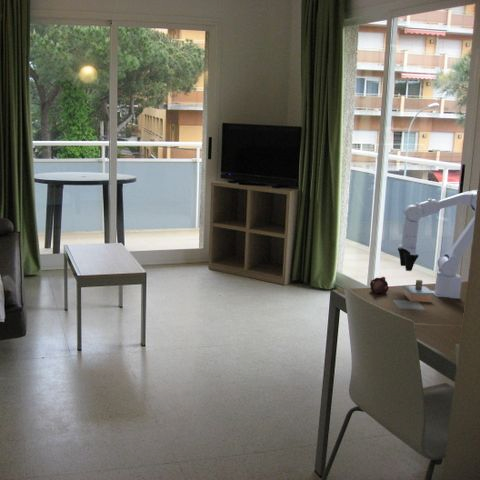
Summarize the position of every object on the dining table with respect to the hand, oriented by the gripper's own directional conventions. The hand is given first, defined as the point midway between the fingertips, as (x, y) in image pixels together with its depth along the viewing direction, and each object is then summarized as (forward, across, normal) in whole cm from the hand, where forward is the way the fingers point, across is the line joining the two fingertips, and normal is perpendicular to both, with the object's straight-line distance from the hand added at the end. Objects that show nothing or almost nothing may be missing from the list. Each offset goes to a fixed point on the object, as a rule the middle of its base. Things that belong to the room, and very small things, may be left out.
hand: (405, 268), depth 275 cm
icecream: (+10, +5, -11) cm, 16 cm away
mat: (+10, +19, -3) cm, 22 cm away
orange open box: (+10, +10, +3) cm, 14 cm away
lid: (+6, +10, +3) cm, 12 cm away
